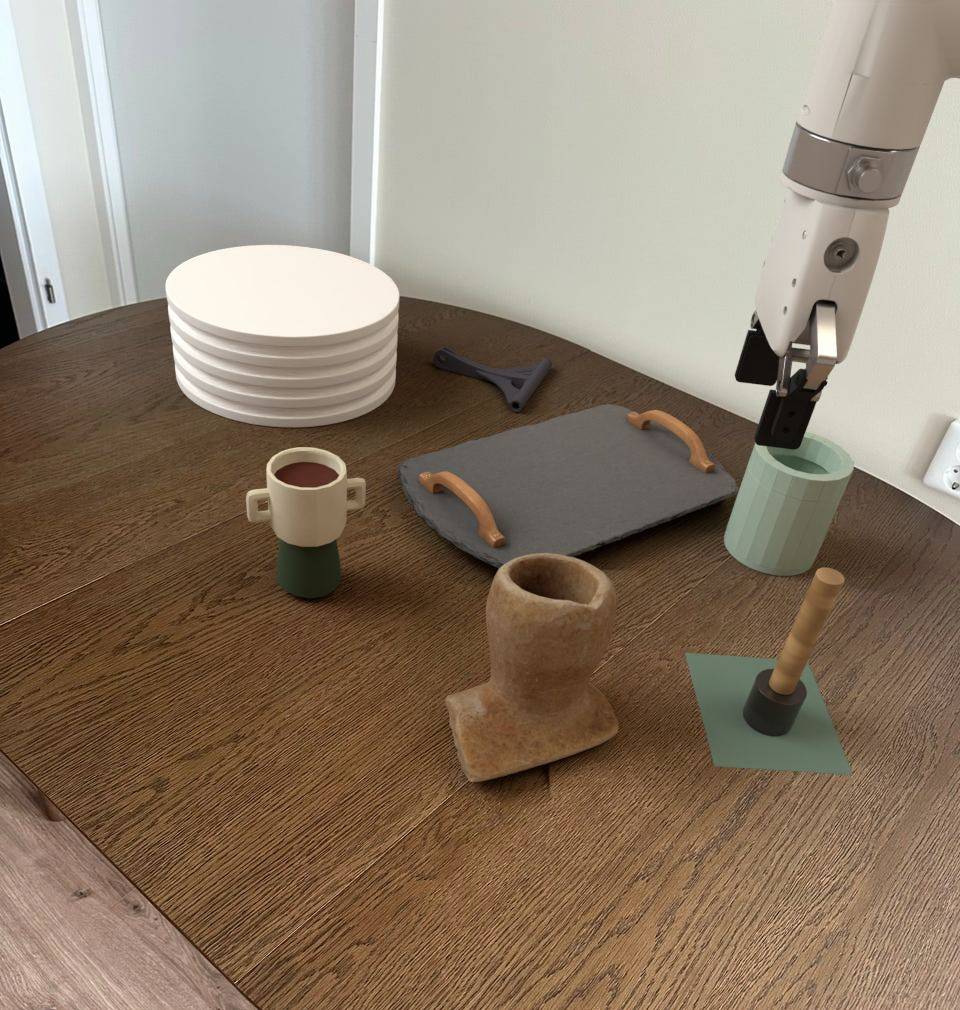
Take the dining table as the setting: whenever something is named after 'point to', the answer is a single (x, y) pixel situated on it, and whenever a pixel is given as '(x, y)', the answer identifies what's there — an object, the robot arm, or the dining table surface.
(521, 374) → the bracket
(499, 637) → the stone cup
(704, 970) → the dining table surface
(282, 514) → the character mug
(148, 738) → the dining table surface
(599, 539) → the serving tray
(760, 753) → the mat
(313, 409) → the plate stack
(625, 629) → the dining table surface
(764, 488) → the jar
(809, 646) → the wood and black rod
